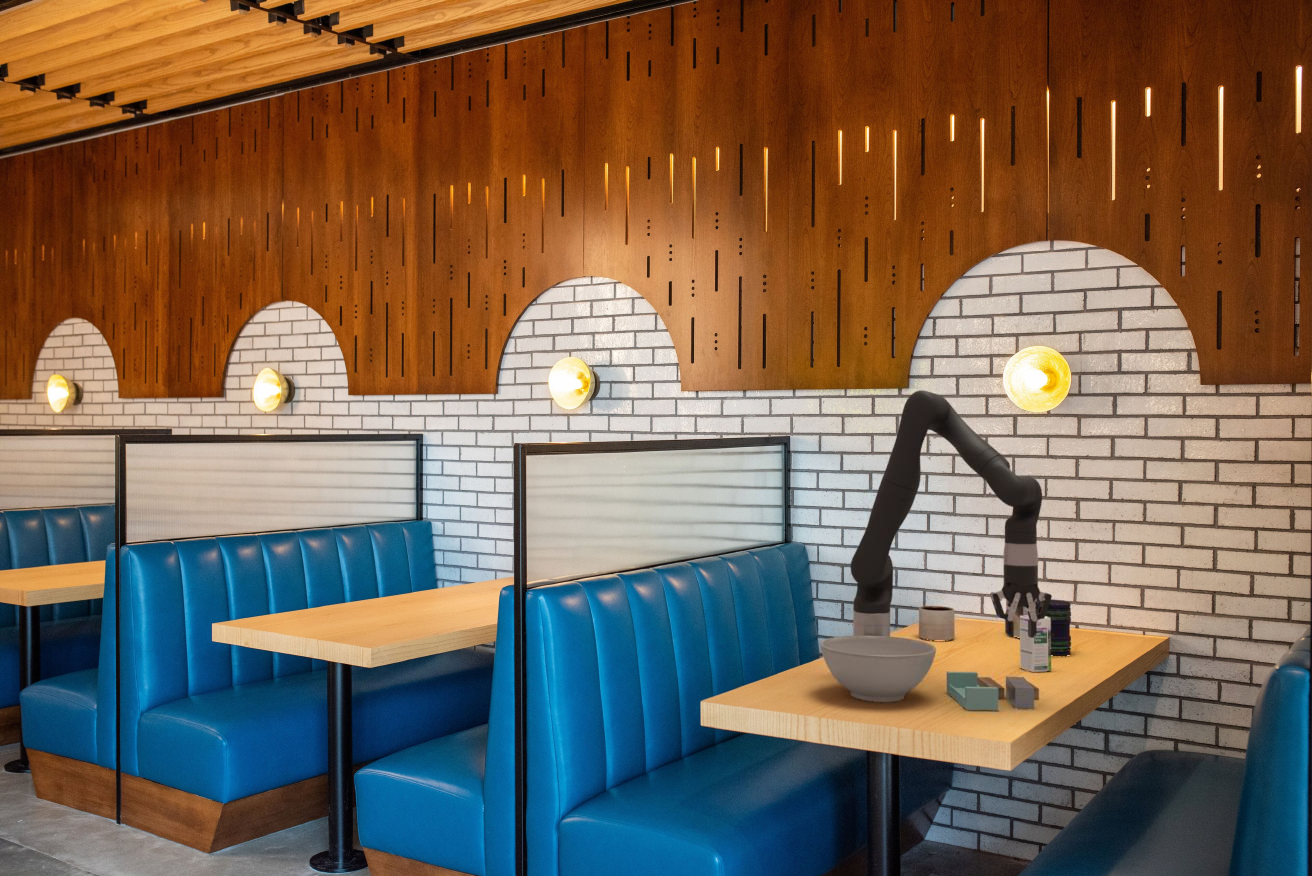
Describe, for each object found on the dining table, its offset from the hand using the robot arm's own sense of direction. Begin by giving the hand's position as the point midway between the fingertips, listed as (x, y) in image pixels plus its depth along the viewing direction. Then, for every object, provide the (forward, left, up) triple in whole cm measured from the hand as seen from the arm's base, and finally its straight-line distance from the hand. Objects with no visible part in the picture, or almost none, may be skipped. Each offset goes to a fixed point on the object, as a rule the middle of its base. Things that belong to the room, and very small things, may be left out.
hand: (1020, 636), depth 238 cm
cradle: (-11, +1, -15) cm, 19 cm away
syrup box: (+16, +38, -15) cm, 44 cm away
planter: (+1, +85, -16) cm, 86 cm away
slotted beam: (0, +10, -15) cm, 18 cm away
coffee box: (+29, +89, -16) cm, 95 cm away
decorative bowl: (-32, +5, -16) cm, 36 cm away
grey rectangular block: (0, 0, -16) cm, 16 cm away
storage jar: (+29, +62, -15) cm, 70 cm away
